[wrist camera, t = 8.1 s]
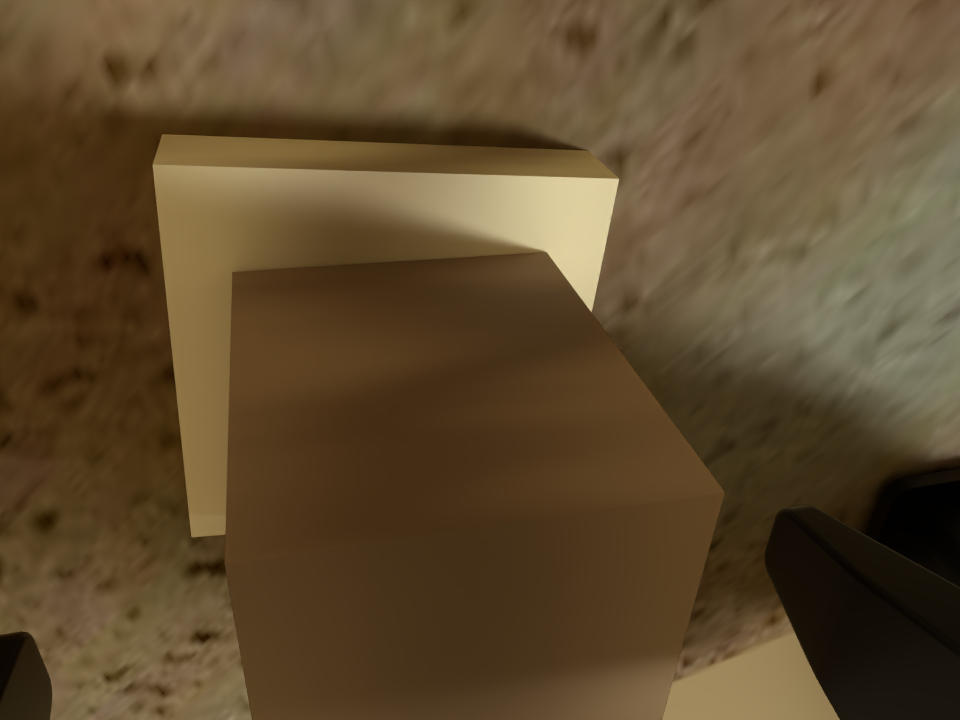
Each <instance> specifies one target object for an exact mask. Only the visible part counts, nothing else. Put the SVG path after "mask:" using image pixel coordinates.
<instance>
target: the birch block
mask: <svg viewBox="0 0 960 720" xmlns="http://www.w3.org/2000/svg"><path fill="white" fill-rule="evenodd" d="M153 174H154V184H155V193H156V203H157V213H158V222H159V232H160V241H161V251H162V260H163V270H164V280H165V289H166V299H167V308H168V318H169V327H170V337H171V346H172V356H173V366H174V375H175V385H176V394H177V404H178V413H179V423H180V432H181V442H182V452H183V461H184V471H185V480H186V490H187V499H188V509H189V519H190V528H191V537H202V536H214V535H225V532H226V493H227V455H228V416H229V377H230V339H231V300H232V272H242V271H258V270H273V269H289V268H304V267H320V266H336V265H351V264H367V263H382V262H398V261H414V260H429V259H445V258H461V257H476V256H492V255H507V254H523V253H539V252H547V253H548V254H549V256H550V257H551V259H552V260H553V261H554V263H555V264H556V265H557V267H558V268H559V269H560V271H561V272H562V273H563V275H564V276H565V277H566V279H567V280H568V281H569V283H570V284H571V285H572V287H573V288H574V290H575V291H576V292H577V294H578V295H579V296H580V298H581V299H582V300H583V302H584V303H585V304H586V306H587V307H588V308H589V310H590V311H591V312H592V308H593V303H594V299H595V294H596V289H597V284H598V279H599V274H600V269H601V264H602V259H603V255H604V250H605V245H606V240H607V235H608V230H609V225H610V220H611V216H612V211H613V206H614V201H615V196H616V191H617V186H618V181H619V178H618V177H616V176H615V175H614V174H613V173H612V172H611V171H610V170H609V169H608V168H606V167H605V166H604V165H603V164H602V163H601V162H600V161H599V160H598V159H597V158H595V157H594V156H593V155H592V154H591V153H590V152H589V151H585V150H559V149H533V148H507V147H481V146H456V145H430V144H404V143H378V142H352V141H326V140H300V139H274V138H249V137H223V136H197V135H171V134H162V137H161V140H160V143H159V146H158V149H157V152H156V155H155V159H154V162H153Z"/></svg>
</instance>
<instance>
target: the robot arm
mask: <svg viewBox="0 0 960 720" xmlns="http://www.w3.org/2000/svg"><path fill="white" fill-rule="evenodd" d="M765 565H766V569H767V572H768V574H769V576H770V579H771V581H772V583H773V585H774V587H775V590H776V592H777V594H778V596H779V598H780V601H781V603H782V605H783V607H784V610H785V612H786V614H787V616H788V618H789V621H790V623H791V625H792V627H793V629H794V632H795V634H796V636H797V638H798V640H799V642H800V645H801V647H802V649H803V651H804V653H805V655H806V658H807V660H808V662H809V664H810V666H811V668H812V670H813V672H814V674H815V676H816V678H817V680H818V682H819V683H820V685H821V687H822V689H823V691H824V693H825V694H826V696H827V698H828V700H829V701H830V703H831V705H832V706H833V708H834V710H835V712H836V713H837V715H838V717H839V719H840V720H960V469H954V470H948V471H942V472H935V473H929V474H923V475H916V476H910V477H904V478H900V479H897V480H895V481H894V482H892V483H890V484H889V485H888V486H887V487H886V488H885V489H884V491H883V493H882V494H881V497H880V499H879V502H878V504H877V507H876V510H875V512H874V515H873V517H872V520H871V522H870V525H869V528H868V530H867V533H866V535H864V534H862V533H861V532H859V531H857V530H855V529H853V528H852V527H850V526H848V525H846V524H844V523H843V522H841V521H839V520H837V519H835V518H834V517H832V516H830V515H828V514H826V513H825V512H823V511H821V510H819V509H817V508H815V507H813V506H810V505H802V506H795V507H789V508H784V509H781V510H780V511H779V512H778V513H777V515H776V517H775V520H774V524H773V527H772V530H771V534H770V537H769V540H768V544H767V547H766V550H765ZM51 704H52V686H51V680H50V677H49V674H48V672H47V669H46V667H45V665H44V662H43V660H42V657H41V655H40V652H39V650H38V648H37V645H36V643H35V640H34V638H33V637H32V635H30V634H29V633H28V632H16V633H9V634H3V635H0V720H50V714H51Z"/></svg>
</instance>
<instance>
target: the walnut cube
mask: <svg viewBox="0 0 960 720" xmlns="http://www.w3.org/2000/svg"><path fill="white" fill-rule="evenodd" d="M724 494H725V492H724V490H723V489H722V488H721V486H720V485H719V484H718V482H717V481H716V480H715V478H714V477H713V475H712V474H711V473H710V471H709V470H708V469H707V467H706V466H705V465H704V463H703V462H702V461H701V459H700V458H699V457H698V455H697V454H696V453H695V451H694V450H693V449H692V447H691V446H690V444H689V443H688V442H687V440H686V439H685V438H684V436H683V435H682V434H681V432H680V431H679V430H678V428H677V427H676V426H675V424H674V423H673V422H672V420H671V419H670V418H669V416H668V415H667V413H666V412H665V411H664V409H663V408H662V407H661V405H660V404H659V403H658V401H657V400H656V399H655V397H654V396H653V395H652V393H651V392H650V391H649V389H648V388H647V387H646V385H645V384H644V382H643V381H642V380H641V378H640V377H639V376H638V374H637V373H636V372H635V370H634V369H633V368H632V366H631V365H630V364H629V362H628V361H627V360H626V358H625V357H624V356H623V354H622V353H621V352H620V350H619V349H618V347H617V346H616V345H615V343H614V342H613V341H612V339H611V338H610V337H609V335H608V334H607V333H606V331H605V330H604V329H603V327H602V326H601V325H600V323H599V322H598V321H597V319H596V318H595V316H594V315H593V314H592V312H591V311H590V310H589V308H588V307H587V306H586V304H585V303H584V302H583V300H582V299H581V298H580V296H579V295H578V294H577V292H576V291H575V290H574V288H573V287H572V285H571V284H570V283H569V281H568V280H567V279H566V277H565V276H564V275H563V273H562V272H561V271H560V269H559V268H558V267H557V265H556V264H555V263H554V261H553V260H552V259H551V257H550V256H549V254H548V253H547V252H539V253H523V254H507V255H492V256H476V257H461V258H445V259H429V260H414V261H398V262H382V263H367V264H351V265H336V266H320V267H304V268H289V269H273V270H258V271H242V272H232V300H231V339H230V377H229V416H228V455H227V493H226V532H225V569H226V575H227V580H228V586H229V592H230V597H231V603H232V609H233V614H234V620H235V626H236V631H237V637H238V643H239V648H240V654H241V660H242V665H243V671H244V677H245V682H246V688H247V694H248V699H249V705H250V711H251V716H252V720H662V718H663V714H664V711H665V707H666V704H667V700H668V696H669V693H670V689H671V685H672V682H673V678H674V675H675V671H676V667H677V664H678V660H679V657H680V653H681V649H682V646H683V642H684V639H685V635H686V631H687V628H688V624H689V620H690V617H691V613H692V610H693V606H694V602H695V599H696V595H697V592H698V588H699V584H700V581H701V577H702V574H703V570H704V566H705V563H706V559H707V555H708V552H709V548H710V545H711V541H712V537H713V534H714V530H715V527H716V523H717V519H718V516H719V512H720V509H721V505H722V501H723V498H724Z"/></svg>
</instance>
